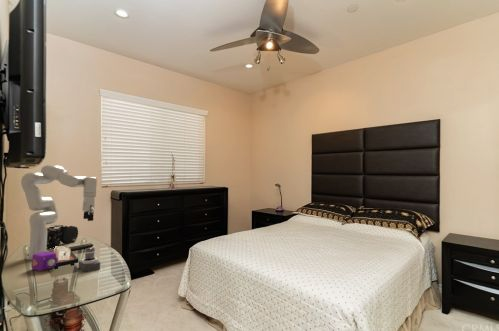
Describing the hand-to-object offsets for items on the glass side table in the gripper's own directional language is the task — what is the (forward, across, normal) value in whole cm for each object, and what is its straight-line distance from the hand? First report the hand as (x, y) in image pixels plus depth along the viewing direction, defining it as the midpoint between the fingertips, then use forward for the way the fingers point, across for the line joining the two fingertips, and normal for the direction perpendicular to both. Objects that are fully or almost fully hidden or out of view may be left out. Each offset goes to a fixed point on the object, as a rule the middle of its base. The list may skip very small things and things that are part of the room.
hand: (88, 219), depth 181 cm
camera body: (+28, +15, -2) cm, 32 cm away
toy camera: (+29, 0, -22) cm, 36 cm away
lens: (+24, +15, -2) cm, 29 cm away
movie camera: (+29, -55, -5) cm, 62 cm away
